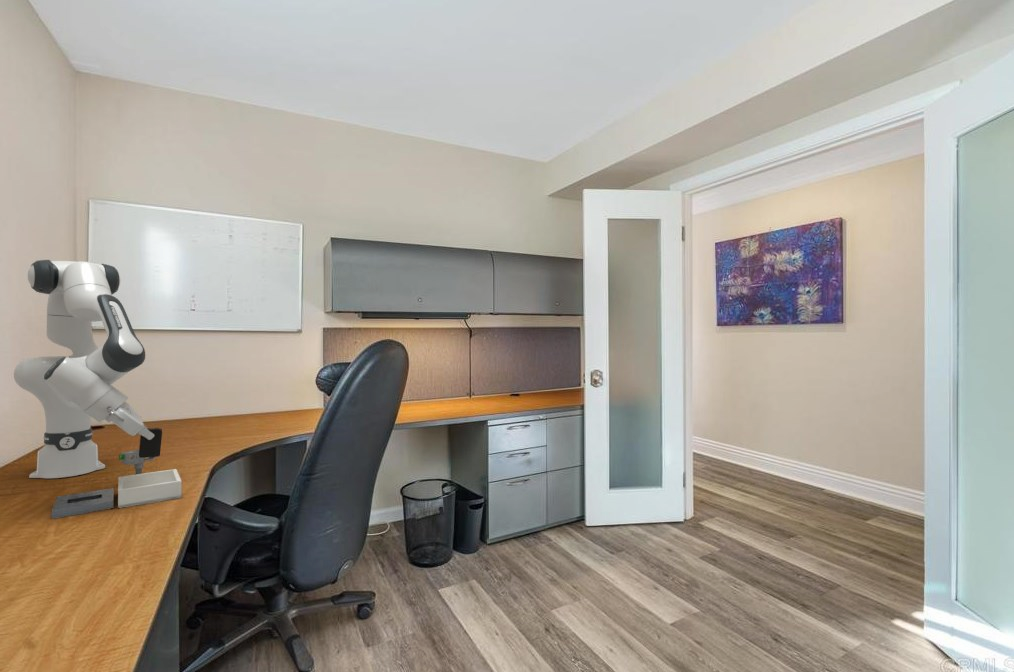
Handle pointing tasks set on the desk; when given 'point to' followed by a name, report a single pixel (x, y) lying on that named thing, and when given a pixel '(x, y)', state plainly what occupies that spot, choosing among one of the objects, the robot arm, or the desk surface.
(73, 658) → the desk surface
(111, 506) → the plate
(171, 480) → the tray
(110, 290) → the robot arm
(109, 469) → the desk surface
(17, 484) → the desk surface
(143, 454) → the ink cartridge
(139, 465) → the mechanical component
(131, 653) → the desk surface
